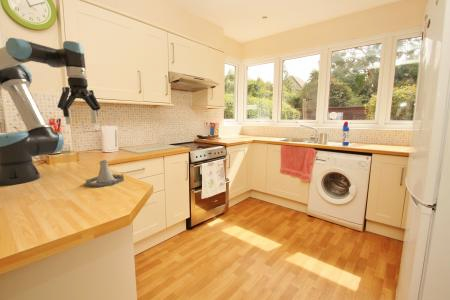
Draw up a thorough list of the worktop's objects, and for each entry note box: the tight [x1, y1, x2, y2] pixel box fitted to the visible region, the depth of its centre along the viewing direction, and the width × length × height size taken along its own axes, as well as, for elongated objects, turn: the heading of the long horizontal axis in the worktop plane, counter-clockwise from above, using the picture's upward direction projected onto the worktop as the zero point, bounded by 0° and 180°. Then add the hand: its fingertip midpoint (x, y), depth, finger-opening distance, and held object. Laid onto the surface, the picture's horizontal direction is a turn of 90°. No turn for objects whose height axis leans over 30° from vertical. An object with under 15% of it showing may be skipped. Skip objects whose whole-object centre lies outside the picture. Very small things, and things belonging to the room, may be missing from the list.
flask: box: [95, 159, 116, 183], centre depth 98 cm, size 7×7×10 cm
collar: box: [85, 173, 125, 188], centre depth 98 cm, size 15×15×2 cm
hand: (83, 123), depth 102 cm, fingers open, 13 cm apart
